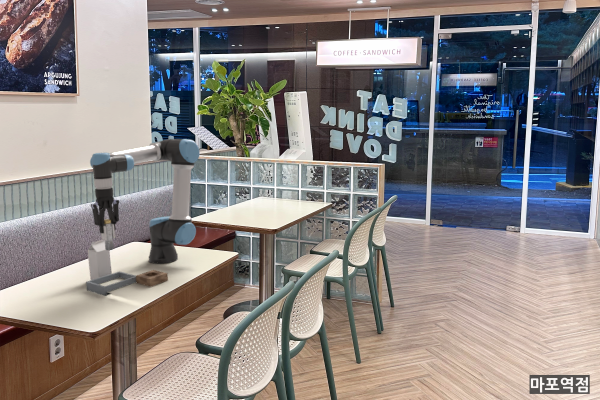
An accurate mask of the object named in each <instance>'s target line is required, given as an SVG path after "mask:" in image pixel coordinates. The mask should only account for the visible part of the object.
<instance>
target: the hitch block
mask: <svg viewBox="0 0 600 400" xmlns="http://www.w3.org/2000/svg"><path fill="white" fill-rule="evenodd" d="M135 275H136V274H135ZM168 276H169V275H168V272H164V271H160V270H155V269H152V270H148V271H146V272H143V273H140V274H137V275H136V282H135V283H136V284H138V285H143V286H147V287H151V288H152V287H154V286H156V285H160V284H163V283H165V282H168V281H169V277H168Z"/></svg>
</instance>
